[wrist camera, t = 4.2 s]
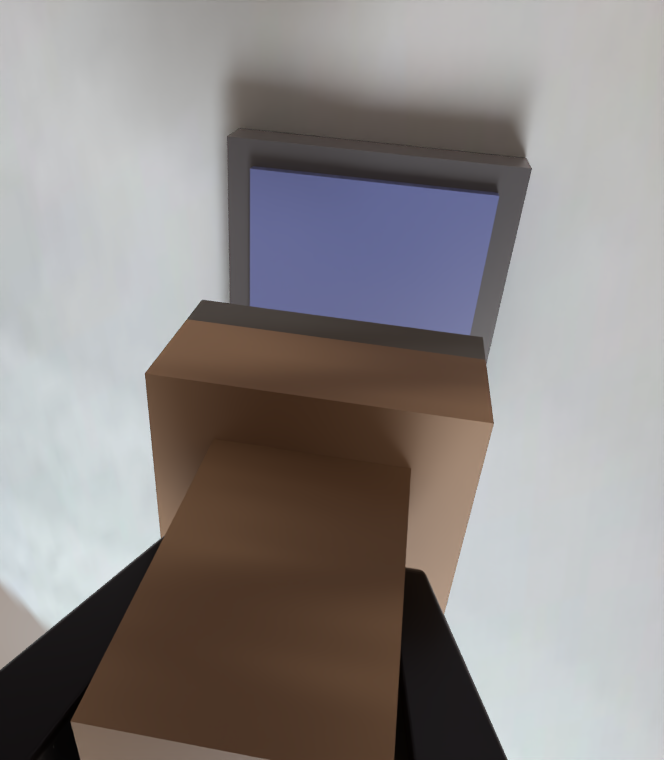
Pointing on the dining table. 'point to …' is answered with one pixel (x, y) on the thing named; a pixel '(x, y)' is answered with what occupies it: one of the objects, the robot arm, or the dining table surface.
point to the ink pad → (372, 230)
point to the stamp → (289, 535)
